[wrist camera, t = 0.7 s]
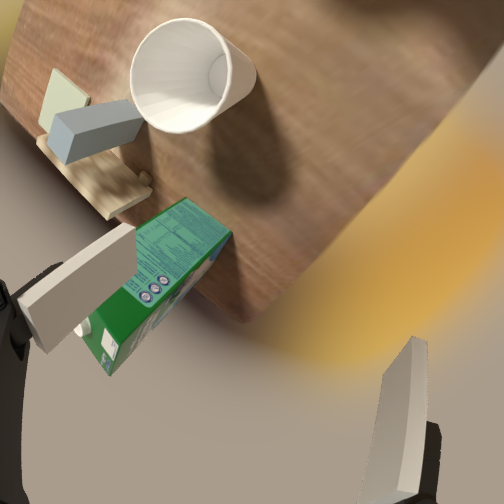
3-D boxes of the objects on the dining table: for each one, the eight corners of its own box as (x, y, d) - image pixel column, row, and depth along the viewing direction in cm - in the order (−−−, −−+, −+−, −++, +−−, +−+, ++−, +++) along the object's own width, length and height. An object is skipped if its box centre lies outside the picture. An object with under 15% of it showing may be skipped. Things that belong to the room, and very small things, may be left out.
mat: (41, 122, 52) (38, 122, 51) (56, 68, 44) (53, 68, 44) (71, 154, 52) (68, 155, 52) (90, 97, 45) (87, 97, 44)
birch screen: (77, 137, 50) (34, 152, 42) (84, 115, 47) (39, 127, 39) (145, 203, 51) (104, 228, 43) (157, 181, 48) (113, 204, 40)
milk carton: (185, 196, 47) (55, 283, 27) (233, 231, 47) (120, 345, 27) (166, 237, 52) (55, 327, 32) (208, 270, 52) (109, 378, 32)
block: (126, 99, 43) (54, 113, 31) (146, 116, 43) (74, 134, 32) (114, 124, 46) (46, 144, 34) (133, 141, 46) (64, 166, 35)
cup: (200, 29, 34) (137, 18, 24) (285, 41, 31) (244, 21, 21) (185, 110, 40) (123, 123, 30) (264, 130, 38) (218, 147, 28)
